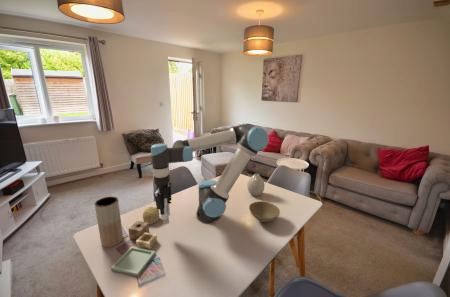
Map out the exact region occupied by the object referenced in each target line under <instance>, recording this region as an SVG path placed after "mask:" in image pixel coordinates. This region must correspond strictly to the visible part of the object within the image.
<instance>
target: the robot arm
mask: <svg viewBox="0 0 450 297" xmlns="http://www.w3.org/2000/svg"><path fill="white" fill-rule="evenodd" d="M269 138H270V137H269V134H268V132H267V131H266V130H265V129H264V128H263V127H261V126H259V125H255V124H252V123H245V124H239V125H237V126H232V127H230V129H228V130H224V131H219V132H214V133H211V134H205V135H202V136H198V137H197V136H196V137H194V138H193V137H192V138H188V139H183V140H181V139H178V140H175V141H174V142H173V144H172V147H168V145H167V144H166V143H154V144H152V145H151V146H150V157H151V165H152V171H153V173H152V174H153V183H154V185H156V191H155V192H153V196H154V201H155V206H156V207H155V208H157V209H159V215H160V218H161V220H163V219H164V220H166V219H167V217H166V208H165V206H164V197H166V198H167V204H168V214H169V217H170V216H171V211H170V209H171V208H170V204H171V205H172V182H171V178H170V168H169V167H170V165H169V164H173V163H174V164H175V163H187V162H192V161H193V159H194V153H195V152H199V151H203V150H206V149H211V148H215V147H219V146H222V145H223V146H224V145H228V144H237V149H236V150H235V152H234V154H233V156H232V157H231V159H230V160H229V162H228V164H227V165H226V166H225V168H224V169H223V171H222V173H221V174H220V176H219V178H218V179H217V181H216V180H212V179H205V180H201V181H200V182H198V207H197V210H196V213H195V214H196V216H195V217H196V219H197V220H198V221H199V222H202V223H207V224H208V223H209V224H210V223H215V222H216V221H218V220H219V219H220V218H221V216H222V215H223V214H224V213H225V211H226V209H227V205H226V203H227V201H228V200H229V199H230V196H229V195H230V192H231V190H232V189H233V187H234V185H235V184H236V182H237V180H238V179H239V177H240V176H241V174H242V173H243V171H244V170H245V168H246V166H247V165H248V163H249V162H250V160H251V158H252V157H254V156H257V154H258V152H260V151H262V150H264V149H266V147H267V146H268V143H269Z"/></svg>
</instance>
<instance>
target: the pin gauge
mask: <svg viewBox="0 0 450 297" xmlns="http://www.w3.org/2000/svg"><path fill="white" fill-rule="evenodd" d="M164 206H165V208H166V217H167V219H166V220H164V219H162V222H163V225H168V224H169V223H170V216H169V214H168V204H167V198H166V197H164Z"/></svg>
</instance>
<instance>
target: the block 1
mask: <svg viewBox="0 0 450 297" xmlns="http://www.w3.org/2000/svg"><path fill="white" fill-rule="evenodd" d="M149 226H150V224H148V223H146V222H144V221H141V220H136V221H135V222H134V223H132V225H131V226H129V228H128V236H129V239H130V240H134V239H136V240H137V239H138V238H139V237H140V236H141V235H142V234H143V233H144V232H147V233H150V227H149ZM136 240H135V241H136Z"/></svg>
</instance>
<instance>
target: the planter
mask: <svg viewBox="0 0 450 297" xmlns="http://www.w3.org/2000/svg"><path fill="white" fill-rule="evenodd" d="M94 209H95V215H96V221H97V228H98V232H99V239H100V244H101V246H102V247H104V248H111V247H115V246H117V245H119V244H120V243H122V241H123V239H124V232H123V226H122V219H121V212H120V210H121V209H120V204H119V198H118V197H117V196H111V195H110V196H105V197H102V198H99V199H97V200H96V201H95V202H94Z"/></svg>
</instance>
